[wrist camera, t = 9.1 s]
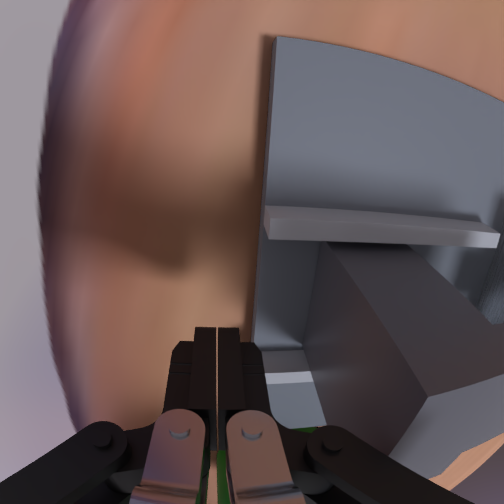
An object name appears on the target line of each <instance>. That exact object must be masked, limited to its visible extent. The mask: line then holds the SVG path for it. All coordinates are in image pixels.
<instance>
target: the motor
mask: <svg viewBox="0 0 504 504" xmlns="http://www.w3.org/2000/svg"><path fill="white" fill-rule="evenodd" d="M316 429H317V428H315V427H306V428H295V429H293V430H297V431H302V432H308V433H312V432H313V431H314V430H316ZM217 493H218V504H231V503H230V497H229V490H228V483H227V476H226V454H225V450H219V451H218V453H217ZM306 504H307V503H306Z"/></svg>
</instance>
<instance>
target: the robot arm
mask: <svg viewBox="0 0 504 504" xmlns="http://www.w3.org/2000/svg"><path fill="white" fill-rule="evenodd" d="M218 428H219V450H225V454H226V476H227V483H228V490H229V497H230V503H231V504H306V503H307V504H474V503H472V502H470V501H468V500H466V499H464V498H462V497H460V496H458V495H456V494H454V493H452V492H450V491H448V490H446V489H445V488H443V487H441V486H439V485H437V484H435V483H433V482H432V481H430V480H428V479H426V478H424V477H423V476H421V475H419V474H417V473H416V472H414V471H412V470H410V469H409V468H407V467H405V466H403V465H402V464H400V463H398V462H397V461H395V460H393V459H392V458H390V457H388V456H387V455H385V454H384V453H382V452H380V451H379V450H377V449H376V448H374V447H372V446H371V445H369V444H368V443H366V442H364V441H363V440H361V439H360V438H358V437H357V436H355V435H354V434H352V433H351V432H349V431H348V430H346V429H344V428H342V427H339V426H334V425H327V426H322V427H319V428H317V429H316V430H314V431H313V432H312V433H308V432H302V431H297V430H293V429H289V428H287V427H285V426H283V425H281V424H280V423H279V422H278V421H277V420H276V419H275V418H274V417H273V415H272V412H271V408H270V402H269V396H268V389H267V383H266V377H265V370H264V366H263V358H262V352H261V351H260V349H259V348H258V347H257V345H256V344H255V343H254V342H240V335H239V328H225V327H218ZM210 450H216V451H217V427H216V327H195V334H194V341H180V342H179V343H178V344H177V345H176V347H175V348H174V349H173V351H172V356H171V362H170V368H169V374H168V381H167V388H166V394H165V401H164V408H163V412H162V414H161V415H160V416H159V418H158V419H157V420H156V421H155V422H154V423H153V424H151V425H149V426H146V427H143V428H139V429H133V430H126V431H123V430H122V428H121V427H119V426H118V425H116V424H114V423H111V422H107V421H99V422H95V423H92V424H90V425H88V426H87V427H85V428H84V429H82V430H81V431H79V432H78V433H76V434H75V435H73V436H72V437H70V438H69V439H68V440H66V441H65V442H63V443H61V444H60V445H58V446H57V447H56V448H54V449H52V450H51V451H49V452H48V453H46V454H45V455H43V456H42V457H40V458H39V459H37V460H35V461H34V462H32V463H31V464H29V465H28V466H26V467H25V468H23V469H21V470H20V471H18V472H17V473H15V474H13V475H12V476H10V477H8V478H7V479H5V480H4V481H2V482H1V483H0V504H206V501H207V489H208V477H209V469H210Z"/></svg>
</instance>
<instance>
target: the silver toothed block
mask: <svg viewBox="0 0 504 504" xmlns="http://www.w3.org/2000/svg"><path fill="white" fill-rule="evenodd" d="M500 234H501V235H500V238H499V241H498V245H497V248H496V249H495V252H494V256H493V259H492V262H491V265H490V268H489V270H488V273H487V276H486V279H485V282H484V284H483V287H482V290H481V292H480V295H479V297H478V300H477V302H476V305H475V307H476V308H477V309H478V310H479V311H480V312H481V313H482V314H483V315H484V316H485V317H486V318H487V319H488V321H489V322H490V323H491V324H492V325H495V324H500V323H504V221H503V225H502V229H501V232H500Z"/></svg>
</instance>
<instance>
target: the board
mask: <svg viewBox="0 0 504 504" xmlns="http://www.w3.org/2000/svg"><path fill="white" fill-rule="evenodd" d="M503 221H504V102H502V101H500V100H498V99H496V98H494V97H491V96H489V95H487V94H485V93H483V92H481V91H479V90H476V89H474V88H472V87H470V86H467V85H465V84H463V83H460V82H458V81H455V80H453V79H450V78H448V77H445V76H443V75H440V74H437V73H434V72H432V71H429V70H426V69H423V68H420V67H417V66H414V65H411V64H408V63H405V62H401V61H398V60H395V59H391V58H388V57H384V56H380V55H377V54H373V53H369V52H365V51H361V50H356V49H352V48H347V47H342V46H337V45H332V44H327V43H321V42H316V41H309V40H303V39H296V38H288V37H279V36H277V37H276V39H275V40H274V41H273V44H272V59H271V74H270V88H269V103H268V117H267V132H266V146H265V160H264V174H263V187H262V201H261V215H260V228H259V241H258V255H257V268H256V281H255V294H254V307H253V320H252V332H251V342H254V343H255V344H256V345H257V347H258V348H259V349H260V351H261V352H262V358H263V366H264V370H265V377H266V383H267V389H268V396H269V402H270V408H271V412H272V415H273V417H274V418H275V419H276V420H277V421H278V422H279V423H280V424H281V425H283V426H285V427H287V428H289V429H295V428H306V427H315V426H324V425H327V424H326V421H325V417H324V414H323V411H322V408H321V404H320V401H319V398H318V394H317V391H316V388H315V385H314V381H313V378H312V375H311V372H310V369H309V365H308V362H307V359H306V356H305V353H304V349H303V346H302V345H303V340H304V335H305V330H306V325H307V320H308V315H309V309H310V304H311V298H312V293H313V287H314V282H315V276H316V270H317V264H318V258H319V252H320V245H321V241H339V242H367V243H393V244H407V245H408V246H409V247H411V248H412V249H413V250H414V251H415V252H416V253H418V254H419V255H420V256H421V257H422V258H423V259H424V260H426V261H427V262H428V263H429V264H430V265H431V266H432V267H433V268H434V269H436V270H437V271H438V272H439V273H440V274H441V275H442V276H443V277H444V278H445V279H446V280H448V281H449V282H450V283H451V284H452V285H453V286H454V287H455V288H456V289H457V290H458V291H459V292H460V293H461V294H462V295H463V296H464V297H465V298H466V299H468V300H469V301H470V302H471V303H472V304H473V305H474V306H475V305H476V302H477V300H478V297H479V295H480V292H481V290H482V287H483V284H484V282H485V279H486V276H487V273H488V270H489V268H490V265H491V262H492V259H493V256H494V252H495V249H496V248H497V245H498V241H499V238H500V235H501V234H500V232H501V229H502V225H503Z"/></svg>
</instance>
